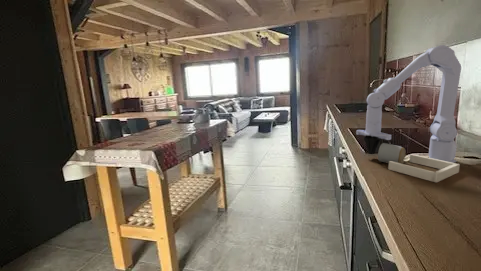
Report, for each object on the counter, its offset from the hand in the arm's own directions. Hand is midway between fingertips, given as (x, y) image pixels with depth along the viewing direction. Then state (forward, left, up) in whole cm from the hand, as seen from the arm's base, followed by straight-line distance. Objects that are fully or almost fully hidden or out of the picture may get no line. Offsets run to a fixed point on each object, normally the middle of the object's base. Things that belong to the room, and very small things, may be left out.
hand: (371, 153), depth 112 cm
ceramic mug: (-1, +8, -2) cm, 8 cm away
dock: (0, +20, -2) cm, 20 cm away
